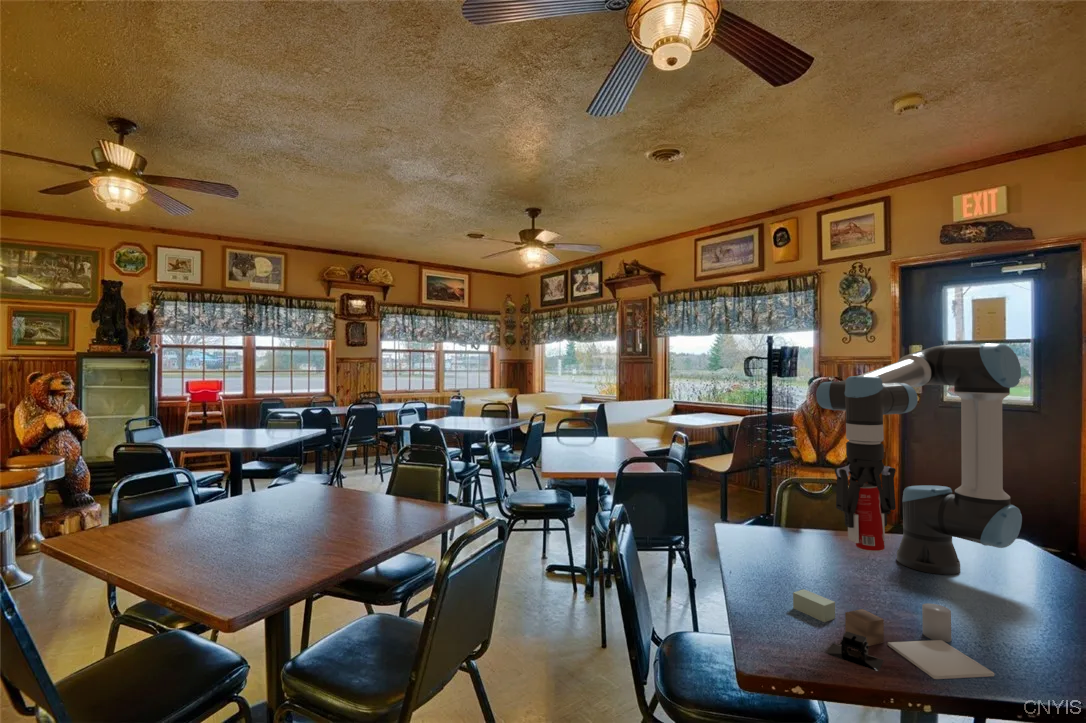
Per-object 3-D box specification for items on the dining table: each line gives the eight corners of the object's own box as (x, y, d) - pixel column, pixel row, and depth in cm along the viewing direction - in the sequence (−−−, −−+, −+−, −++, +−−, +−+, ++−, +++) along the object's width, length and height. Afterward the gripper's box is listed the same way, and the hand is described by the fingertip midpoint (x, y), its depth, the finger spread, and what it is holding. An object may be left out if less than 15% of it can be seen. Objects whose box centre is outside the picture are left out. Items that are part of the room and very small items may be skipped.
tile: (941, 642, 111) (941, 639, 111) (994, 676, 99) (994, 673, 99) (887, 645, 110) (887, 642, 110) (934, 679, 98) (934, 676, 98)
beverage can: (889, 554, 119) (887, 488, 119) (857, 552, 120) (856, 487, 120) (877, 545, 125) (876, 482, 125) (848, 543, 126) (847, 481, 126)
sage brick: (803, 605, 129) (803, 589, 129) (835, 619, 122) (835, 601, 122) (793, 609, 127) (793, 592, 127) (824, 623, 120) (824, 605, 120)
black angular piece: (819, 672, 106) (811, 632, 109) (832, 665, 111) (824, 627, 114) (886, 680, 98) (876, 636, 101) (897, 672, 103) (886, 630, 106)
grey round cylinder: (938, 630, 116) (938, 603, 116) (957, 641, 111) (957, 613, 111) (917, 630, 116) (916, 603, 116) (935, 642, 111) (934, 614, 111)
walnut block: (862, 631, 116) (862, 608, 116) (883, 642, 111) (883, 619, 111) (845, 635, 114) (845, 612, 114) (866, 646, 109) (866, 623, 109)
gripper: (890, 438, 127) (892, 533, 127) (816, 440, 126) (818, 536, 125) (914, 443, 119) (916, 544, 119) (836, 445, 118) (838, 547, 118)
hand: (866, 540), depth 122 cm, fingers closed on beverage can, 6 cm apart
